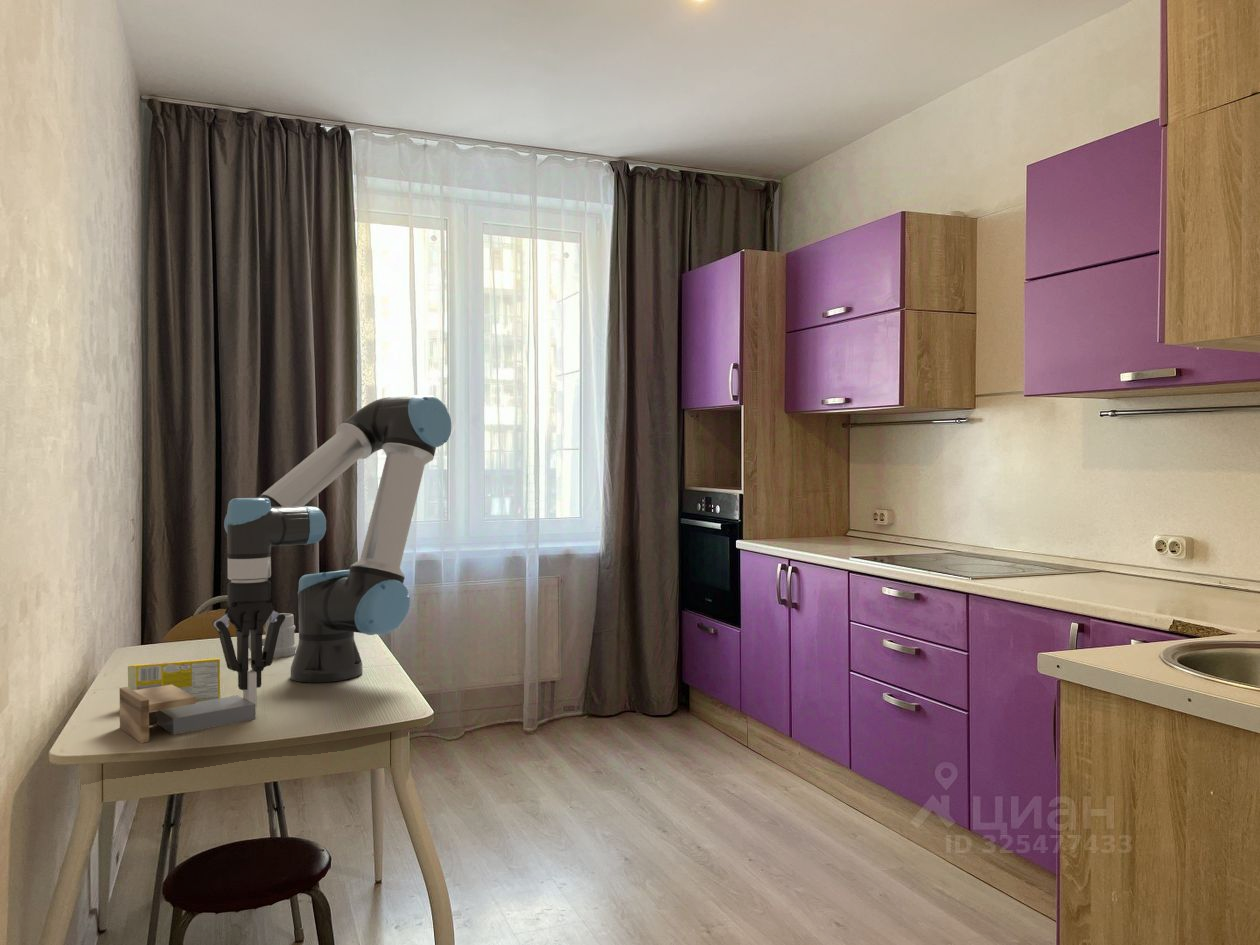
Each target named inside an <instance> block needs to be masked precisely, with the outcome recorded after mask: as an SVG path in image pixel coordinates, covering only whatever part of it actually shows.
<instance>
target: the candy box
mask: <svg viewBox="0 0 1260 945" xmlns="http://www.w3.org/2000/svg"><path fill="white" fill-rule="evenodd" d="M127 681H128V682H127V687H128V688H130V689H132V690H139V689H146V688H152V687H159V686H165V685H174V686H176V687H178V688H180V689H181V690H183V691H185V692H187V693H189V694H191V695H193V696H195V697H196V702H201V701H207V700H213V699H219V698H221V658H220V657H217V658H215V657H214V658H206V659H205V658H204V659H202V658H201V659H193V660H192V659H191V660H178V661H167V662H155V663H152V662H151V663H140V664H130V665H128V666H127Z"/></svg>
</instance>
